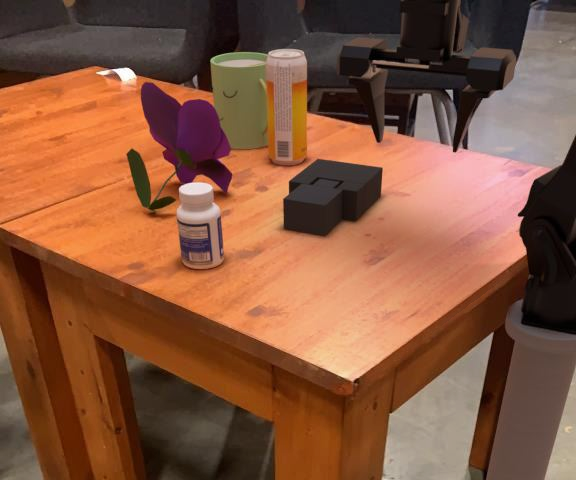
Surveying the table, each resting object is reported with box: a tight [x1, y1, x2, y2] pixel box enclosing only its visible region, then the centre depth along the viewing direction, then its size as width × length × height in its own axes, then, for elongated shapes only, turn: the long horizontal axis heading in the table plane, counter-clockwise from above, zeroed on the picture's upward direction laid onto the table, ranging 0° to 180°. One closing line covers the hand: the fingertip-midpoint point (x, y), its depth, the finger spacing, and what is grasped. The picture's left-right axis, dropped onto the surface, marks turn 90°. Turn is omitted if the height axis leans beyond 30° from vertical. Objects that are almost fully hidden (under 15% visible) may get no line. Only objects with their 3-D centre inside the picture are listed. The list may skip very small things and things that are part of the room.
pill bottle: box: [176, 181, 225, 270], centre depth 92 cm, size 5×5×9 cm
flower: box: [126, 81, 233, 213], centre depth 106 cm, size 15×15×14 cm
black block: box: [282, 179, 343, 237], centre depth 103 cm, size 6×9×4 cm
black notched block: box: [288, 158, 384, 222], centre depth 107 cm, size 10×10×4 cm
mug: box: [209, 51, 268, 150], centre depth 125 cm, size 13×10×12 cm
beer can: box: [266, 48, 308, 166], centre depth 117 cm, size 6×6×15 cm
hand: (416, 146), depth 89 cm, fingers open, 9 cm apart
